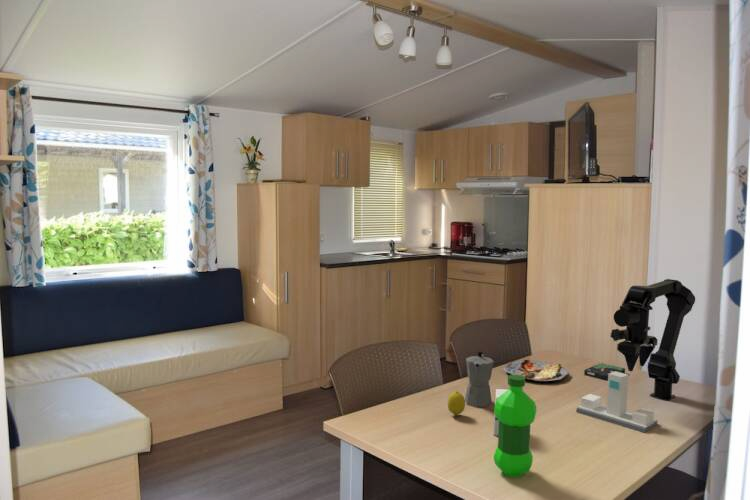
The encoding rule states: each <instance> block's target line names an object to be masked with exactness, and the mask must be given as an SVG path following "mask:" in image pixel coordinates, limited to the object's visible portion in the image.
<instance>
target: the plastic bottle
mask: <svg viewBox="0 0 750 500" xmlns="http://www.w3.org/2000/svg"><path fill="white" fill-rule="evenodd" d="M520 375H521V374H516V375H512V374H510V375H508V377H507V385H509V389H507V390H508V391H506V392H505V393H503V394H502V395H501V396H499V397H498V399H497V401H496V403H495V402H494V409H493V410H494V411H493V413H494V412H495V416H496V417H497V418H498V420H499V434H498V436H497V437H498V438H497V439H498V440H497V447H496V449H495V451H494V455H493V461H494V462H493V463H494V464H495V466H497V468H498V469H499V470H500V471H501V472H502V473H503V474H504V475H505V476H508V477H510V478H519V477H522V476H523V475H524V474H526V473H528V472H529V471H530V470H531V468H532V464H533V459H534V458H533V453H532V450H531V449H530V443H531V441H530V440H531V424H532V423H534V421H535V417H536V414H537V405H536V402H535V401H534V400H533V399H532V398H531V397H530V396H529V395H528V394H527V393H525V391H524V390H523V387H525V386H526V379H525V377H523V376H520ZM522 474H523V475H522ZM521 475H522V476H521Z"/></svg>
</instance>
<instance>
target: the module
mask: <svg viewBox="0 0 750 500" xmlns="http://www.w3.org/2000/svg"><path fill="white" fill-rule="evenodd" d="M628 388H629V374H628V373H627V374H626V373H625V374H624V373H620V372H616V371H615V372H612V373H609V374H608V381H607V391H606V406H607V407H606V413H608V414H611V415H614V416H617V417H621V416H623V415H625V414H626V412H627V408H628V406H627V404H628V391H629V389H628Z"/></svg>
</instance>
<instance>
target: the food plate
mask: <svg viewBox="0 0 750 500" xmlns="http://www.w3.org/2000/svg"><path fill="white" fill-rule="evenodd" d="M503 370H504V372H505V373H508V374H510V375H520V376H523V377H525V380H530V381H535V382H540V383H541V382H542V383H547V382H550V381H559V380H562V379H563V378H565V377H566V376H567V375H568V374H569V371H568V370H567V369H566V368H564V367H562V365H561V363H550V362H546V361H538V360H531V359H528V358H527V359H523V360H521V361H520V360H519V361H512V362H510V363H508V364H507V365H506V366H504V367H503Z"/></svg>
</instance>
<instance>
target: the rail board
mask: <svg viewBox="0 0 750 500" xmlns="http://www.w3.org/2000/svg"><path fill="white" fill-rule="evenodd" d="M580 398H581V401H580V402H581V403H580V405H579V406H577V408H576V413H579V414H582V415H585V416H589V417H591V418H594V419H597V420H602V421H604V422H607V423H611V424H614V425H618V426H621V427H624V428H628V429H630V430H634V431H637V432H641V433H644V434H645V433H646V432H647V431H649V430H650V429H652V428H654V427H655V426H658V423H659V422H658V420H657V419H654V418H655V411H654V410H649V409H647V408H644V407H643V408H642V407H640V408H637V409H636V410H635V411H633V412H629V411H626V414H625V415H623V416H621V417H617V416H614V415H611V414H608V413H606V407H607V405H604V404H602V396H599V395H595V394H591V393H589V394H586V395H584V396H583V397H580Z"/></svg>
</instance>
